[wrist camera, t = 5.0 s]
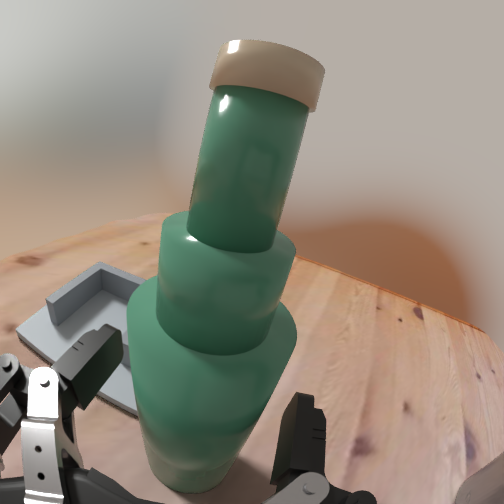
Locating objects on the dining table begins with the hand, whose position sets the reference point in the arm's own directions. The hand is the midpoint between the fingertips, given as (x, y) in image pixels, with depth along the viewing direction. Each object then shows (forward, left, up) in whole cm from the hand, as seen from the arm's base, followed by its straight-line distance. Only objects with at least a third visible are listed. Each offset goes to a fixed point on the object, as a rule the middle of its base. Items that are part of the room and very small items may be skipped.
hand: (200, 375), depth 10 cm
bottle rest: (+13, -10, -12) cm, 20 cm away
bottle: (0, 0, -12) cm, 12 cm away
